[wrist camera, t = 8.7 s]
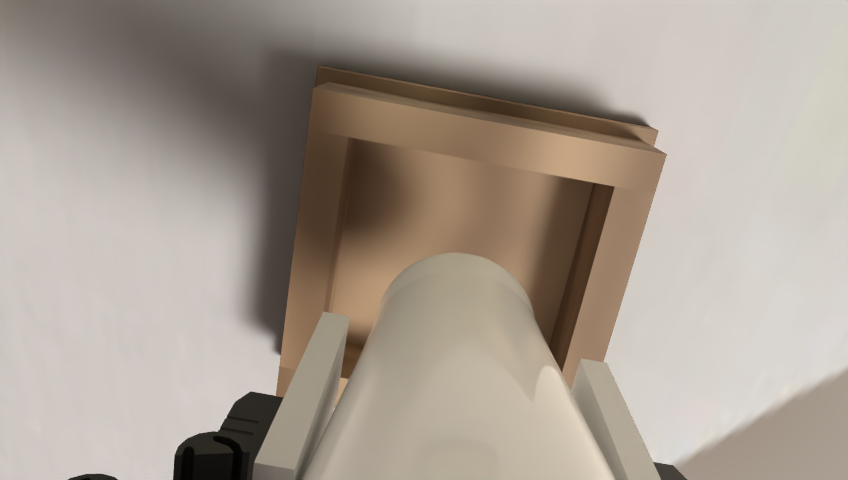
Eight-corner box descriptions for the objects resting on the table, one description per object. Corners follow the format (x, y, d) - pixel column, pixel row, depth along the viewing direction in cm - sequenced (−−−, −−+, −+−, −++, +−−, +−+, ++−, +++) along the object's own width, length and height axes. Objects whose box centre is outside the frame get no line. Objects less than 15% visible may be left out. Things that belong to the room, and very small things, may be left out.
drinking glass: (318, 327, 22) (81, 859, 8) (444, 184, 20) (429, 542, 6) (463, 436, 23) (484, 1070, 9) (595, 310, 22) (875, 856, 7)
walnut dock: (286, 359, 31) (263, 405, 27) (322, 65, 26) (300, 71, 22) (568, 409, 31) (584, 462, 27) (651, 127, 26) (684, 143, 23)
